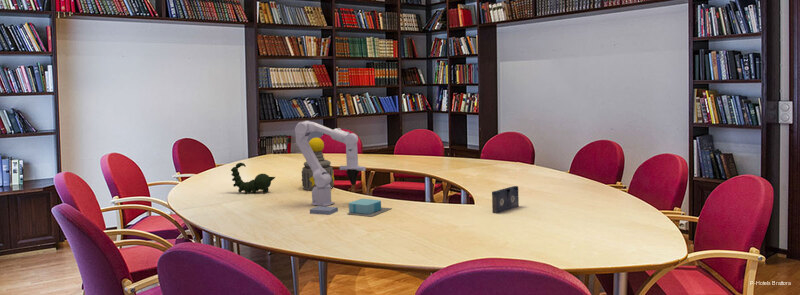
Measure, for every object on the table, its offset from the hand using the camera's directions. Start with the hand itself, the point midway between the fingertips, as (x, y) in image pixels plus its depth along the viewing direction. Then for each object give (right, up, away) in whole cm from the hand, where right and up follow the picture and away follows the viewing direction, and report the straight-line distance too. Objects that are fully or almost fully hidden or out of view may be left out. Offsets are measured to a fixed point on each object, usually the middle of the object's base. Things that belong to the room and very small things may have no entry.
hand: (353, 184), depth 316 cm
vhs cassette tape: (+73, -11, -23) cm, 77 cm away
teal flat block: (+2, -9, -13) cm, 16 cm away
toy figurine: (-60, -8, +44) cm, 75 cm away
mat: (+9, -12, -16) cm, 22 cm away
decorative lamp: (-24, -6, +52) cm, 58 cm away
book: (-13, -13, -14) cm, 23 cm away
